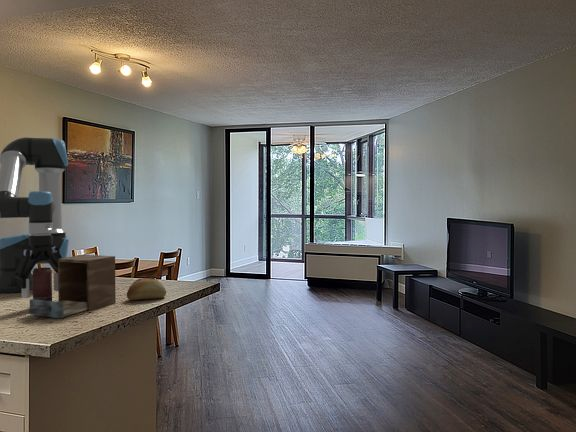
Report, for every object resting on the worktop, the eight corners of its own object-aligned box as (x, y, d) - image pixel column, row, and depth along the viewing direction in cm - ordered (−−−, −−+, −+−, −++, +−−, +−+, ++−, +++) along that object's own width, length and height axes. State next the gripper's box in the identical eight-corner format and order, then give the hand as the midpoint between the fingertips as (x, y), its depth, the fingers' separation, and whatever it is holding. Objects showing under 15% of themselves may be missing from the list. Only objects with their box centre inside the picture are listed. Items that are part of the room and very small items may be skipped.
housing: (58, 307, 169) (57, 258, 168) (85, 300, 181) (85, 254, 180) (89, 310, 164) (89, 260, 163) (115, 303, 176) (115, 256, 175)
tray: (19, 317, 154) (19, 302, 153) (60, 306, 169) (60, 292, 169) (51, 321, 149) (51, 305, 149) (91, 309, 165) (90, 295, 165)
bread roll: (123, 299, 184) (123, 278, 184) (162, 294, 192) (161, 275, 191) (129, 303, 176) (129, 282, 175) (169, 299, 184) (169, 278, 183)
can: (36, 305, 172) (36, 267, 172) (55, 305, 173) (54, 266, 172) (29, 309, 166) (28, 269, 166) (48, 309, 167) (47, 269, 166)
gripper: (17, 237, 155) (19, 301, 156) (76, 232, 179) (77, 288, 179) (1, 236, 158) (2, 300, 159) (60, 232, 181) (61, 287, 182)
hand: (42, 294), depth 169 cm, fingers open, 13 cm apart
